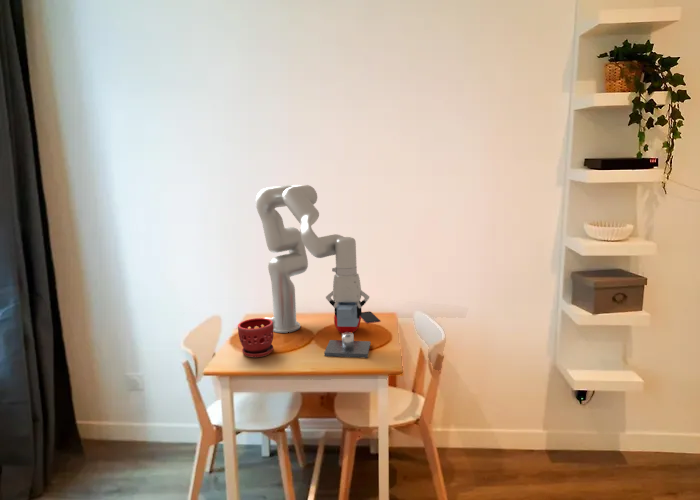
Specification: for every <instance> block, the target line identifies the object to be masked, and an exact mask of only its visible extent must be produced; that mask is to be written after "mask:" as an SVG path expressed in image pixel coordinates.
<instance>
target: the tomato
mask: <svg viewBox="0 0 700 500" xmlns="http://www.w3.org/2000/svg"><path fill="white" fill-rule="evenodd" d="M361 320H362V319H361V317H360V318H359V322H358V325H357V327H339V326H337V318H336V315H335V314H334V315H333V322H334V326H335V328H336V330H337V331H338V332H339V333H341V334H343V333H345V332H352V333H355V332H356V331H357V330H358V328H359V327H360V324H361Z"/></svg>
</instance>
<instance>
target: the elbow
mask: <svg viewBox="0 0 700 500" xmlns="http://www.w3.org/2000/svg"><path fill="white" fill-rule="evenodd" d="M357 308H358V306H357V304H356V303H343V302H339V303H338V304H337V326H339V327H357V325H358V322H359V319H358V318H357Z"/></svg>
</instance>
